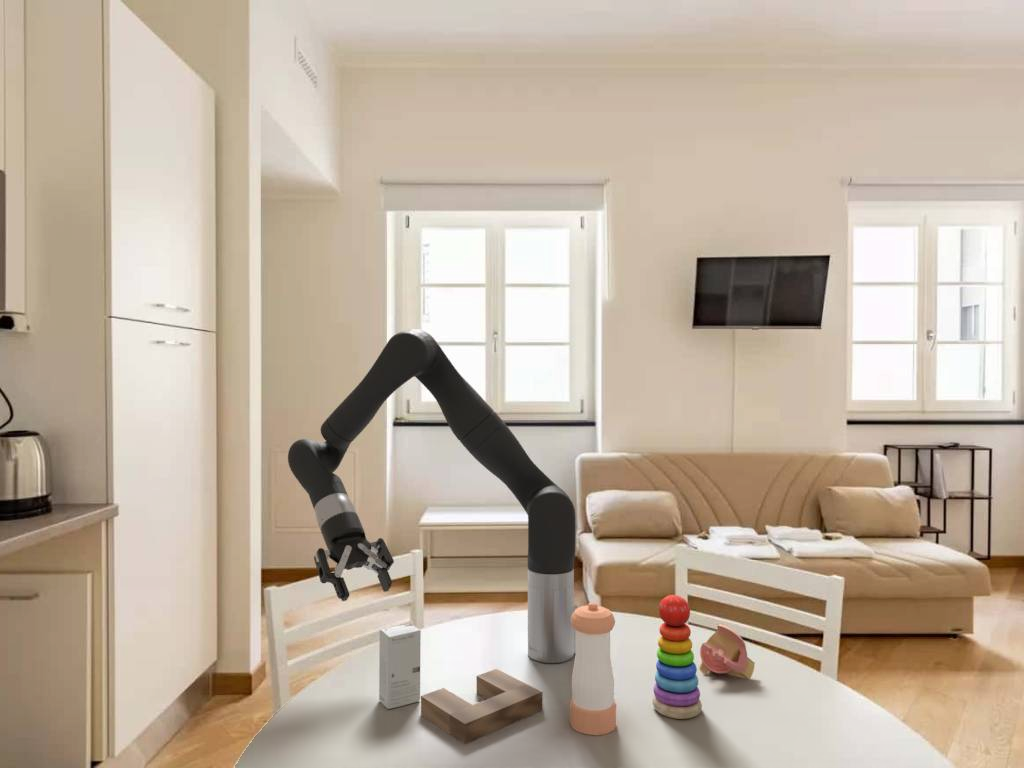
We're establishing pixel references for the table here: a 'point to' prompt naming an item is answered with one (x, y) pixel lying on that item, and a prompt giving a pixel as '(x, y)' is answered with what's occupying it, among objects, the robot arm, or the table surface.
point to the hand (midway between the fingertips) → (367, 593)
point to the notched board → (482, 706)
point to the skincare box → (399, 666)
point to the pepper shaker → (592, 672)
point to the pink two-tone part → (726, 654)
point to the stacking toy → (676, 663)
